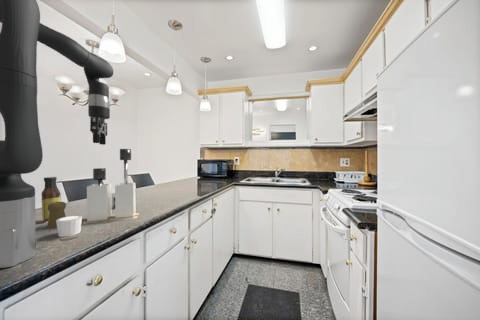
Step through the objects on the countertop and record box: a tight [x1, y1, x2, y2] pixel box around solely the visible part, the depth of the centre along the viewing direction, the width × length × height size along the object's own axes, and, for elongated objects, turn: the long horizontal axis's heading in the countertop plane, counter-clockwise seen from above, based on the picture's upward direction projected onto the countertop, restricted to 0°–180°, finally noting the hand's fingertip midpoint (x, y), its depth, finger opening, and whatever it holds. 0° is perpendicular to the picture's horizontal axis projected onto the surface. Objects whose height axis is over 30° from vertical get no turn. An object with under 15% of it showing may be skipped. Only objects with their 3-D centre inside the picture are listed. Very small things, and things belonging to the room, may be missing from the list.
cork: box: [46, 201, 67, 230], centre depth 74 cm, size 6×6×11 cm
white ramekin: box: [56, 215, 83, 242], centre depth 67 cm, size 7×7×7 cm
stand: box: [81, 211, 140, 225], centre depth 85 cm, size 10×20×2 cm, turn 112°
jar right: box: [114, 182, 137, 219], centre depth 86 cm, size 7×7×15 cm
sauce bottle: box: [41, 176, 62, 223], centre depth 85 cm, size 7×6×20 cm
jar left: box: [86, 183, 112, 222], centre depth 83 cm, size 7×7×15 cm
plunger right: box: [119, 148, 132, 185], centre depth 86 cm, size 5×5×20 cm
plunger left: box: [92, 167, 107, 186], centre depth 83 cm, size 5×5×20 cm
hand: (99, 143), depth 83 cm, fingers open, 8 cm apart
